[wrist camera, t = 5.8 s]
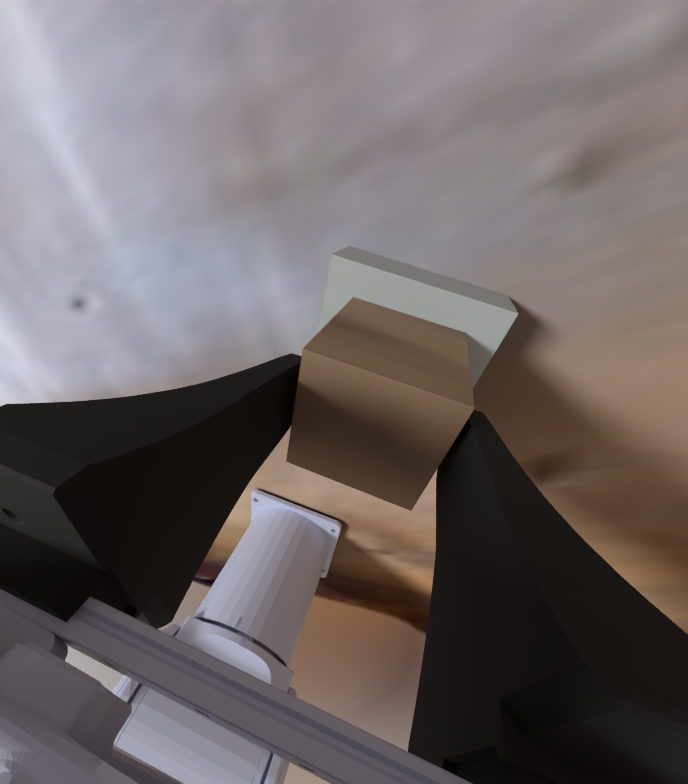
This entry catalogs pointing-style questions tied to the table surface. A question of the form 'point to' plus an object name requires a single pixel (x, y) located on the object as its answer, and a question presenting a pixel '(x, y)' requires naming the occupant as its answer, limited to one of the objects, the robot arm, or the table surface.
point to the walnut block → (380, 401)
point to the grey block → (420, 300)
